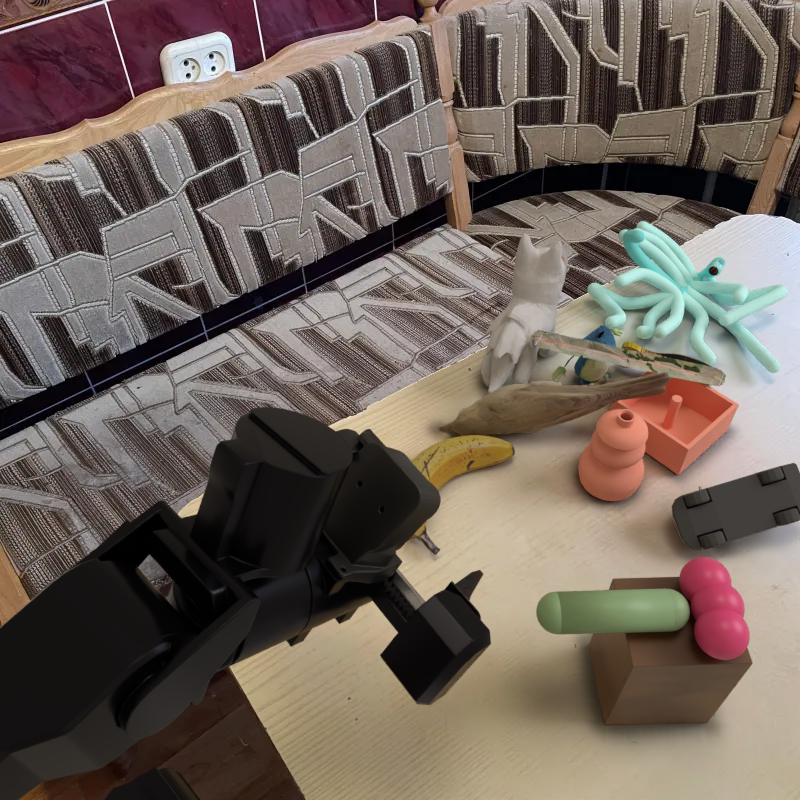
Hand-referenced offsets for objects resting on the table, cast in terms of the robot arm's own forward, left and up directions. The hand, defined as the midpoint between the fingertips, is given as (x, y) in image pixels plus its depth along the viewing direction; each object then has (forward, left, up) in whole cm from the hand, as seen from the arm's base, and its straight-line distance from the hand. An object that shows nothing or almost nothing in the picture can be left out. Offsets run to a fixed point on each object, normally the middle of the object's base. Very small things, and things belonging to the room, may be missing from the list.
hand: (435, 527), depth 54 cm
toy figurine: (+37, +2, -18) cm, 41 cm away
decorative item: (+42, -5, -18) cm, 46 cm away
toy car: (+25, -19, -13) cm, 34 cm away
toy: (+36, +10, -18) cm, 41 cm away
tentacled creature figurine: (+45, -3, -13) cm, 46 cm away
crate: (+7, -17, -18) cm, 26 cm away
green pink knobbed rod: (+5, -14, -7) cm, 17 cm away
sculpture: (+30, +4, -14) cm, 33 cm away
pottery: (+30, -7, -18) cm, 36 cm away
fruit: (+15, +7, -18) cm, 25 cm away
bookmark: (+36, -2, -12) cm, 38 cm away
